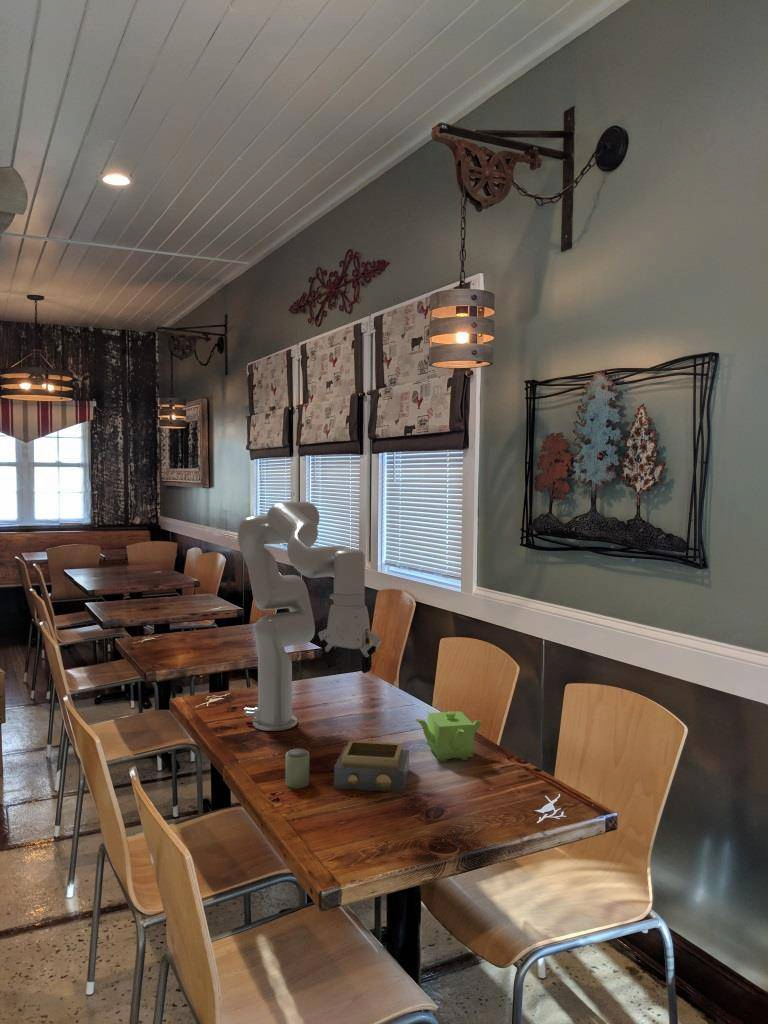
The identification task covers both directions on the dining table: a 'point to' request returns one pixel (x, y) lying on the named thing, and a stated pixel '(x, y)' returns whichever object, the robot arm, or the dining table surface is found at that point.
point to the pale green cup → (297, 768)
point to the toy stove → (372, 767)
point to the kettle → (450, 734)
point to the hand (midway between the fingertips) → (349, 669)
